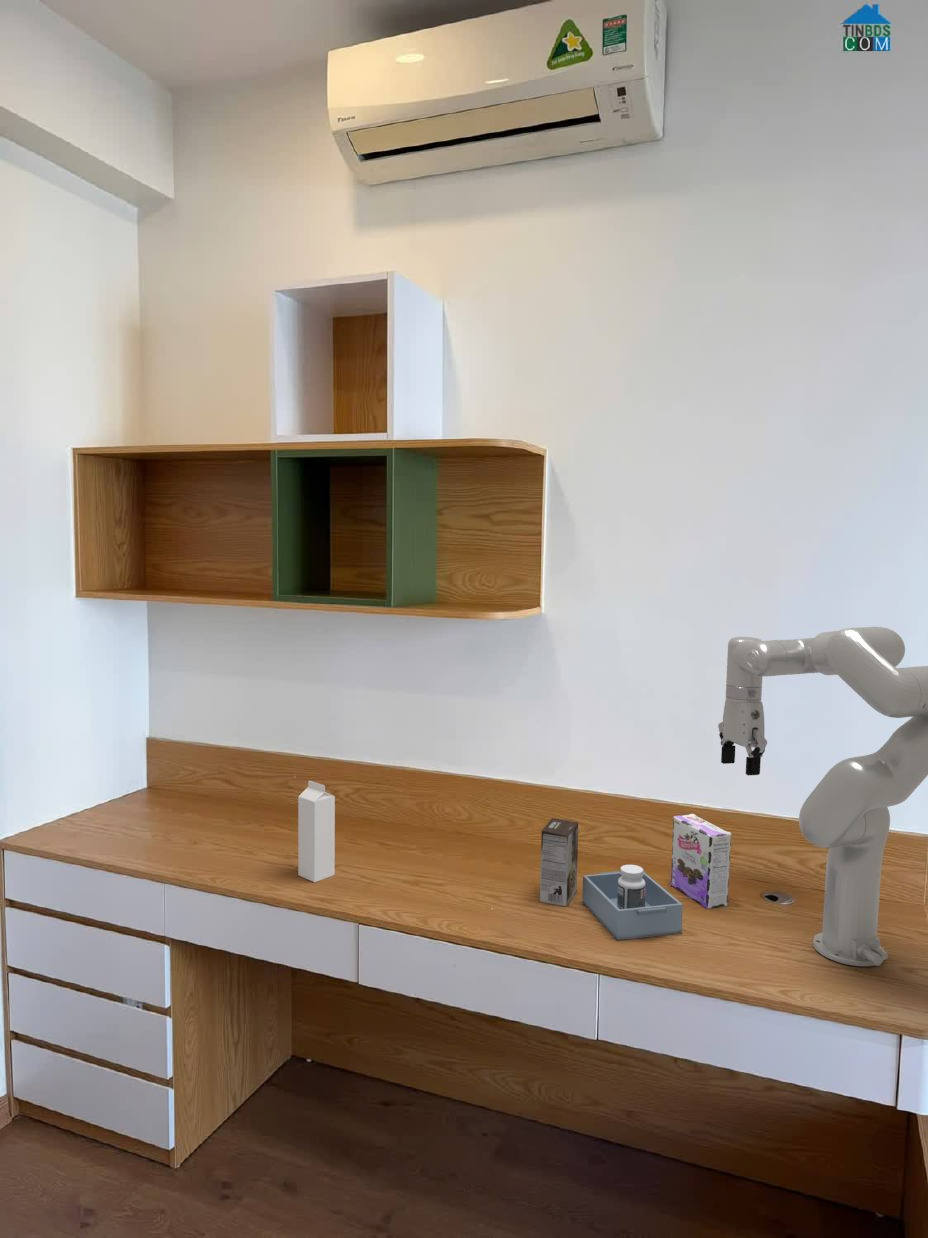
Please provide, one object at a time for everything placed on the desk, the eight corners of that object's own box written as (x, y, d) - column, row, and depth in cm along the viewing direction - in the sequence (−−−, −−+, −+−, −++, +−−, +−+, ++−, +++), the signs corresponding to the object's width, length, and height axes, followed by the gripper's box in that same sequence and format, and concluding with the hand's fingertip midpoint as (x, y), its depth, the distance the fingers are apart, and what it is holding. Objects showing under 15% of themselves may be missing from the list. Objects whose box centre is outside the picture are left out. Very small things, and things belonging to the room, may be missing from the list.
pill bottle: (648, 912, 178) (649, 867, 177) (639, 923, 173) (641, 876, 172) (622, 906, 180) (623, 861, 179) (613, 916, 175) (614, 870, 175)
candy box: (669, 885, 194) (672, 815, 192) (690, 881, 196) (693, 812, 194) (706, 909, 181) (709, 835, 179) (729, 906, 183) (732, 832, 181)
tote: (683, 935, 169) (685, 906, 168) (619, 942, 165) (620, 913, 165) (639, 894, 188) (640, 868, 187) (580, 900, 184) (581, 874, 184)
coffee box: (549, 886, 192) (551, 817, 190) (577, 891, 189) (579, 821, 188) (538, 902, 183) (540, 830, 182) (567, 907, 181) (569, 834, 179)
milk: (314, 883, 192) (314, 788, 189) (297, 875, 195) (297, 783, 193) (335, 875, 196) (335, 782, 194) (318, 868, 200) (318, 777, 198)
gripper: (782, 699, 179) (778, 778, 181) (736, 686, 196) (733, 758, 197) (751, 701, 177) (747, 780, 179) (707, 686, 194) (704, 759, 195)
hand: (739, 768), depth 188 cm, fingers open, 9 cm apart
